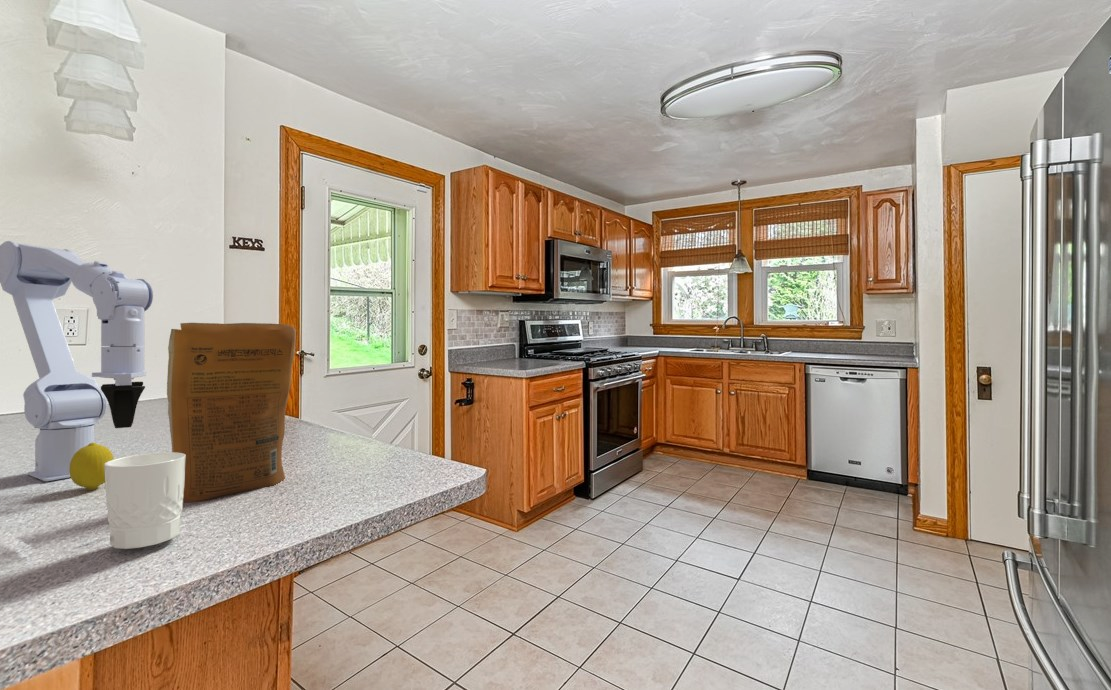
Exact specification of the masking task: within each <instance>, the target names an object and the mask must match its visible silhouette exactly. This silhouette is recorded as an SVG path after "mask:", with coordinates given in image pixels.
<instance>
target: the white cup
mask: <svg viewBox="0 0 1111 690" xmlns="http://www.w3.org/2000/svg"><path fill="white" fill-rule="evenodd" d="M185 461H186V455H185V454H183V453H175V452H172V451H170V452H168V451H167V452H151V453H141V454H135V455H128V456H122V457H117V458H114V460H111V461H108V462H106V463H105V464H104V469H105V483H104V484H105V485H104V486H105V501H106V502H105V503H106V508H107V509H106V510H107V521H108V524H109V530H108V531H109V545H110V546H111V547H112V548H114V549H120V550H121V549H122V550H123V549H124V550H127V549H128V550H129V549H137V548H144V547H150V546H154V545H158V544H161V543H164V542H167V541H169V540H172V539H174V538H176V537H178V536H179V534H180V532H181V522H182V521H181V520H182V516H181V515H182V512H183V504H184V502H183V492H184V480H185Z"/></svg>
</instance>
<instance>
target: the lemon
mask: <svg viewBox="0 0 1111 690" xmlns="http://www.w3.org/2000/svg"><path fill="white" fill-rule="evenodd" d="M114 459H115V458H114V456H113V453H112V451H111V450H110V449H109V448H108V447H106V446H105V445H101V444H97V443H96V442H94V443H90V444H89V445H88V446H85V447H83V448H81V449H80V450H78V451H77V452H76V453H75V454H74V455H73V457H72V459H71V462H70V467H69V472H70V477H69V478H70V480H71V481H72V482H73V483H74V484H75V485H77V486H79V487H82V488H86V489H87V490H89V491H94V490H96V489H97V488H98V487H100V486H101V485H104V484H105V469H104V464H105V463H106V462H108V461H111V460H114Z"/></svg>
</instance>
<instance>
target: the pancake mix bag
mask: <svg viewBox="0 0 1111 690" xmlns="http://www.w3.org/2000/svg"><path fill="white" fill-rule="evenodd" d="M179 324H180V329H177V328H171V329H170V335H169V340H168V347H167V351H168V361H167V363H168V364H167V379H166V380H167V381H166V396H167V404H168V406H167V414H168V415H167V416H168V423H169V433H170V438H171V439H170V440H171V452H175V453H183V454H185V455H186V461H185V480H184V492H183V503H197V502H205V501H210V500H213V499H220V498H223V497H229V496H234V495H238V494H241V493H246V492H250V491H255V490H259V489H264V488H271V487H270V486H273V487H275V486H277V485H279V484H281V483H282V482H284V481H285V480H286V476H285V472H284V468H283V461H282V452H283V443H284V437H285V431H286V429H285V425H286V408H287V404H288V399H289V394H290V390H291V380H292V371H293V362H294V358H295V352H296V351H295V349H296V339H297V338H296V335H297V329H296V328H295V327H293V326H292V325H290V324H283V323H265V322H264V323H262V322H259V323H257V322H239V323H238V322H235V323H234V322H233V323H215V322H214V323H209V322H180V323H179ZM284 479H285V480H284ZM281 481H282V482H281ZM280 482H281V483H280ZM278 483H279V484H278ZM276 484H277V485H276ZM274 485H275V486H274Z"/></svg>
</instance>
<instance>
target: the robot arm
mask: <svg viewBox="0 0 1111 690" xmlns="http://www.w3.org/2000/svg"><path fill="white" fill-rule="evenodd" d="M78 256H79V255H78V253H77V252H76V251H72V250H70V249H67V248H64V249H60V248H54V247H47V246H40V245H39V246H38V245H33V244H25V243H19V242H15V241H11V240H6V241H4V242H3V243H1V244H0V286H1V288H2V291H3V292H5V293H7V294H9V295H11V296H12V300H13V304H14V306H15V309H16V312H17V315H18V318H19V320H20V324H21V327H22V329H23V333H24V336H25V338H26V339H25V340H26V341H27V342H26V343H27V344H28V349H29V351H30V353H31V357H32V359H33V360H32V361H33V364H34V365H35V369H36V372H37V375H38V379H36V380H34V381H33V382H32V383H31V384H29V385H28V386H27V387H26V388H25V390H24V391H23V395H22V396H23V400H24V407H23V408H24V415H25V419H26V421H27V422H28V423H29V424H30V425H31V426H33V427H34V429H39V432H38V434H37V436H36V437H35V443H34V449H35V450H34V471H33V470H32V471H28V472H27V475H28V476H30V477H31V478H36V479H39V480H40V481H43V482H49V481H51V482H52V481H57V480H62V479H68V478H71V477H70V472H69V467H70V462H71V459H72V457H73V455H74V454H75V453H76V452H77V451H78V450H80V449H81V448H83V447H85V446H88V445H89V444H90V443H95V425H97V424H99V423H100V420H102V419H103V417H104V416H105V415H106V412H107V411H108V405H109V409H110V414H111V419H112V424H113V425H114V426H113V427H114V428H115V429H124V428H132V426H133V424H134V419H135V415H136V410H137V405H138V402H139V400H140V398H141V395H142V393H143V392H144V390H146V389H145V388H146V385H144V382H143V381H132V380H134V378H139V377H140V378H141V377H146V376H147V371H145V347H146V346H145V340H146V339H145V336H146V335H145V325H146V324H145V319H146V318H145V312H147V311H148V310H149V309H150V307H151V306H152V303H153V301H154V290H153V288H152V285H151V284H150V283H149V282H148V281H147V280H146V279H144V278H137V279H133V278H129V277H127V276H125V273H124V272H122V271H118V270H113V269H111V268H110V267H109V264H108V263H107V262H104V261H97V260H95V261H94V262H93V261H92V262H86V261H84V260H82V259H81V258H79V257H78ZM71 284H72V285H73V286H74V288H75V289H77V291H80V292H81V293H83V294H85V295H87V296H89V297H91V298H92V300H93V304H94V306H95V308H96V317H97V319H98V320H100V324H101V325H100V332H101V333H100V336H101V337H100V343H101V344H100V347H101V348H100V353H101V355H100V372H91V376H88V375H87V374H85V373H82V372H80V371H78V369H77V367H76V365H75V361H74V358H73V355H72V352H71V349H70V347H69V344H68V340H67V338H66V334H65V331H64V329H63V326H62V324H61V323H62V322H61V321H60V317H59V316H58V312H57V310H56V306H55V304H54V299H58V298H60V297H62V296H65V295H66V293H67V291H68V289H70V286H71ZM95 378H104V379H113V380H114V383H104V384H102V385H101V386H100V387H99V384H98V382H97V379H95Z"/></svg>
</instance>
